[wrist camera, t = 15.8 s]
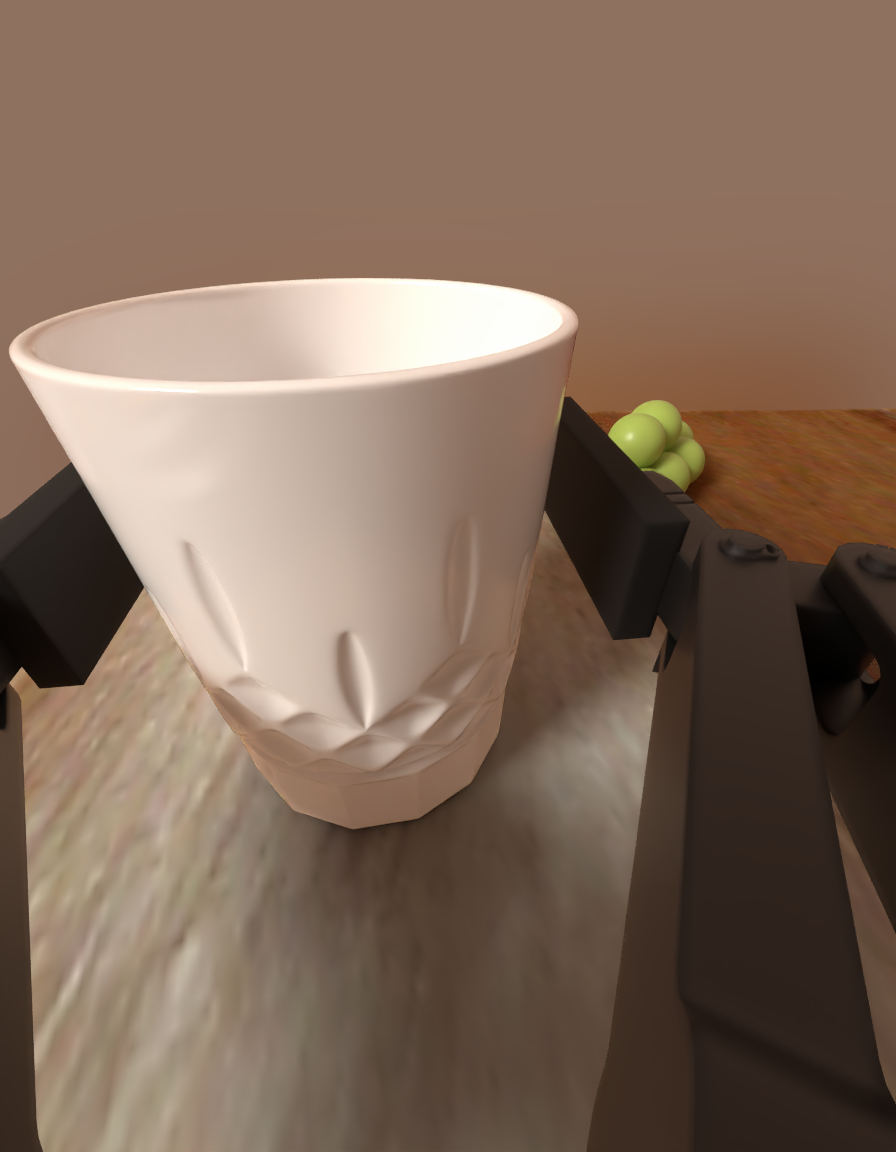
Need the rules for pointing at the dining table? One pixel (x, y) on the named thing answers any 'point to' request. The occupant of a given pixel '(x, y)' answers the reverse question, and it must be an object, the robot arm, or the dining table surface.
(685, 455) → the grapes
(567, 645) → the dining table surface
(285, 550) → the white cup
